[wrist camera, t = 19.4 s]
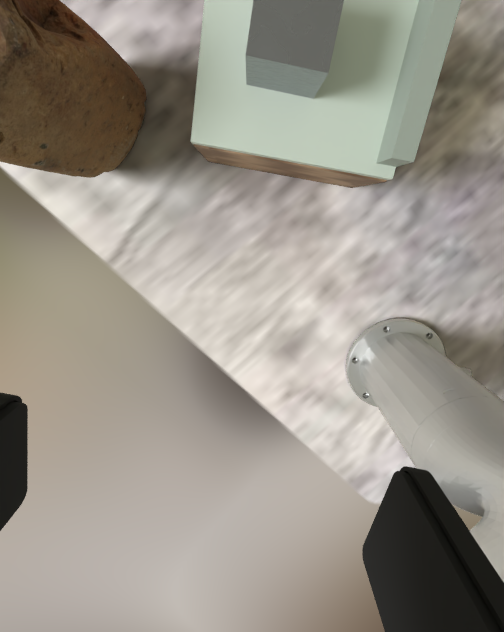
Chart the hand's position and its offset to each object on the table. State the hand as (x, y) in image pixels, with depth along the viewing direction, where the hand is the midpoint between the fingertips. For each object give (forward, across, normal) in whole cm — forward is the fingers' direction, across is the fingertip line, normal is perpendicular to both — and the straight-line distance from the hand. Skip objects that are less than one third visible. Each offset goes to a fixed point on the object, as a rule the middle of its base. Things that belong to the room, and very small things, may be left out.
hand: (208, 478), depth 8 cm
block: (+33, +17, -12) cm, 39 cm away
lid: (+22, -2, -18) cm, 29 cm away
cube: (+21, 0, -17) cm, 28 cm away
